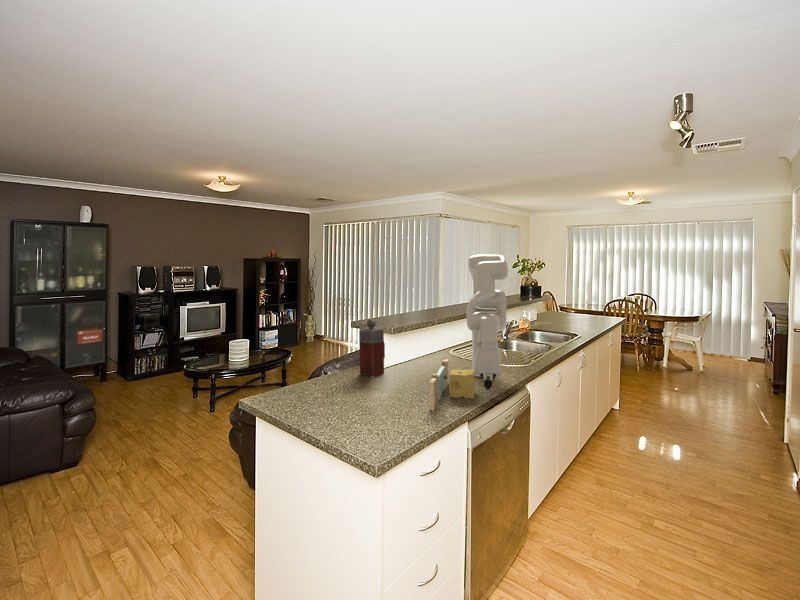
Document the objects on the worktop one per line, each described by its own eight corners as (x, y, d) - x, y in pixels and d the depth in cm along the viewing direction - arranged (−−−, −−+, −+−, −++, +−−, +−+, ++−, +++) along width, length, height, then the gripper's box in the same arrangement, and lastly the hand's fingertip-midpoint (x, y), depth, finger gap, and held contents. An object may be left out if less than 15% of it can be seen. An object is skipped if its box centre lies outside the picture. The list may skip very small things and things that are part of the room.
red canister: (387, 372, 222) (386, 318, 220) (373, 377, 213) (372, 321, 211) (374, 369, 228) (373, 317, 225) (359, 374, 219) (358, 319, 216)
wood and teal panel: (444, 382, 203) (444, 357, 202) (448, 382, 202) (448, 357, 201) (429, 410, 164) (428, 379, 163) (434, 410, 164) (434, 380, 163)
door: (440, 402, 173) (440, 377, 172) (431, 401, 174) (431, 377, 173) (447, 387, 192) (447, 366, 191) (439, 387, 193) (439, 365, 192)
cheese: (474, 399, 177) (474, 375, 176) (448, 398, 179) (448, 374, 179) (474, 391, 187) (475, 369, 187) (450, 390, 190) (450, 368, 189)
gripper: (469, 346, 177) (469, 390, 179) (506, 348, 173) (506, 392, 175) (471, 343, 184) (470, 385, 186) (506, 344, 181) (506, 387, 182)
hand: (488, 388), depth 180 cm, fingers closed
